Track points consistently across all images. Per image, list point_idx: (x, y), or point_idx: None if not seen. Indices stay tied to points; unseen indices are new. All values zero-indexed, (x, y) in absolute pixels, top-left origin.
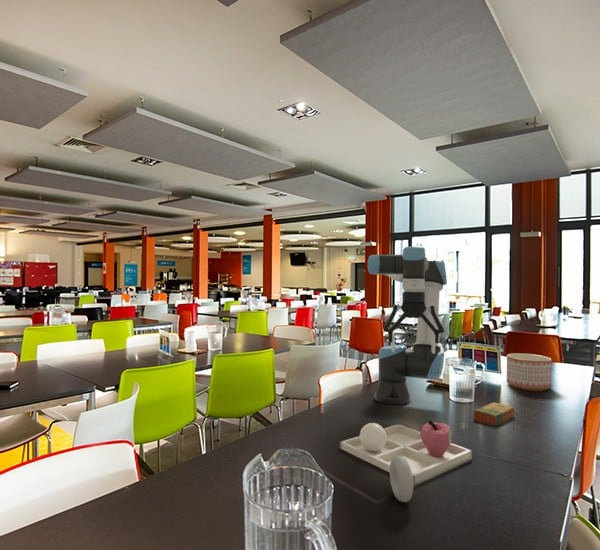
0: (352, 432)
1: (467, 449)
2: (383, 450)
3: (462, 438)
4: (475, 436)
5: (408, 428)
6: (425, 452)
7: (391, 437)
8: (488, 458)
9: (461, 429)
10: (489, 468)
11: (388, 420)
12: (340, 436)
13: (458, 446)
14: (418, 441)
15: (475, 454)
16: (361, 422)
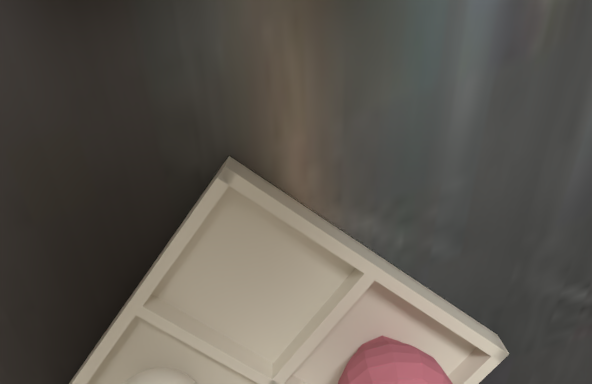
0: (39, 231)
1: (495, 349)
2: (202, 375)
3: (508, 148)
4: (575, 103)
5: (275, 210)
6: (345, 349)
7: (211, 257)
8: (557, 311)
9: (532, 22)
10: (535, 379)
11: (155, 5)
12: (11, 286)
13: (467, 334)
14: (322, 334)
15: (520, 293)
16: (31, 88)
